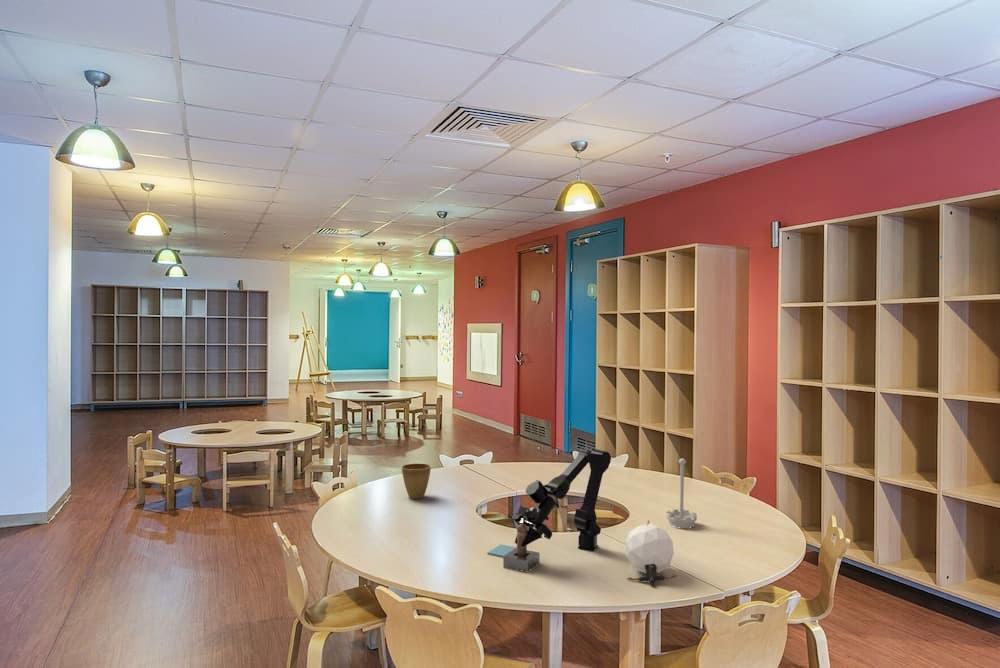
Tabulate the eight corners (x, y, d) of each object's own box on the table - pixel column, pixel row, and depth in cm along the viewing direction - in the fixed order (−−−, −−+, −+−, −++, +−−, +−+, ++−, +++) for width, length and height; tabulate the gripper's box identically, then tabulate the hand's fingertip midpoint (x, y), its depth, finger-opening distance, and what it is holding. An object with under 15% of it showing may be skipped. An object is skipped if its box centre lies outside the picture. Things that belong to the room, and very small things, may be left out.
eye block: (539, 563, 241) (539, 552, 241) (527, 572, 233) (527, 561, 233) (515, 558, 246) (515, 547, 246) (503, 566, 237) (503, 556, 237)
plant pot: (434, 494, 336) (435, 464, 335) (424, 502, 321) (424, 470, 321) (408, 492, 339) (408, 462, 339) (396, 499, 325) (396, 468, 325)
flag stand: (697, 530, 282) (699, 462, 281) (667, 528, 284) (668, 460, 284) (695, 521, 295) (696, 456, 294) (665, 519, 297) (666, 454, 297)
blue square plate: (525, 550, 255) (525, 549, 255) (512, 559, 245) (512, 557, 245) (500, 545, 260) (500, 544, 260) (487, 554, 250) (487, 552, 250)
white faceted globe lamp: (674, 544, 244) (666, 499, 233) (681, 601, 223) (673, 554, 212) (628, 547, 248) (618, 503, 237) (630, 604, 227) (619, 557, 216)
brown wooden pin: (528, 562, 240) (528, 523, 240) (524, 565, 237) (524, 526, 237) (519, 560, 242) (519, 522, 242) (514, 563, 239) (515, 524, 238)
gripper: (515, 492, 249) (492, 525, 243) (546, 503, 233) (521, 539, 227) (531, 509, 253) (508, 542, 247) (562, 521, 238) (539, 557, 232)
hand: (518, 544), depth 238 cm, fingers closed on brown wooden pin, 4 cm apart
